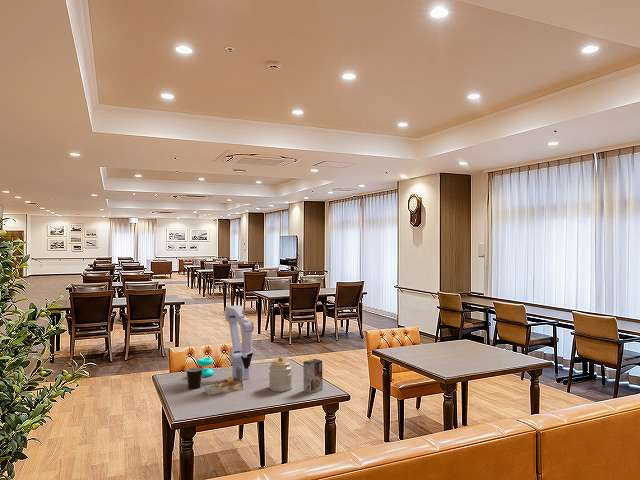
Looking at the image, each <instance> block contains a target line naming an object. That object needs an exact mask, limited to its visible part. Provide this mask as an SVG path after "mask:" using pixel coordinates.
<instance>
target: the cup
mask: <svg viewBox="0 0 640 480" xmlns="http://www.w3.org/2000/svg"><path fill="white" fill-rule="evenodd" d="M204 392H205V393H206V394H207V395H209V396H211V395H212V396H213V395H216V394H222V393H221V387H218V388H217V384H216V383H214V384H209V385H205V386H204Z"/></svg>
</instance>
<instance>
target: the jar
mask: <svg viewBox="0 0 640 480" xmlns="http://www.w3.org/2000/svg"><path fill="white" fill-rule="evenodd" d="M291 363H292V362H291V361H289V359H285V358H284V357H283V356H279V357H278V358H277V359H274V360H272V361H271V362H270V366H269V367H268V368H269V372H268V375H269V377H268V378H269V381H268V382H269V383H268V387H269V390H270V391H273V392H278V393H279V392H281V393H282V392H288V391H290V390H292V388H293V371H292V368H293V366H292V364H291Z"/></svg>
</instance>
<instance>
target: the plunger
mask: <svg viewBox="0 0 640 480" xmlns="http://www.w3.org/2000/svg"><path fill="white" fill-rule="evenodd" d="M240 379H242V369H241V368H239V367H236V377H234V381H235V382H236V381H241V380H240Z"/></svg>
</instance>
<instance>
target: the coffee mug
mask: <svg viewBox="0 0 640 480" xmlns="http://www.w3.org/2000/svg"><path fill="white" fill-rule="evenodd" d="M202 369H203V368H202V367H189V368H188V369H186V375H187V376H186V378H187V383H188V384H187V385H188V389H190V390H196V389H200V388H201V384H202V378H203V377H202Z"/></svg>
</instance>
